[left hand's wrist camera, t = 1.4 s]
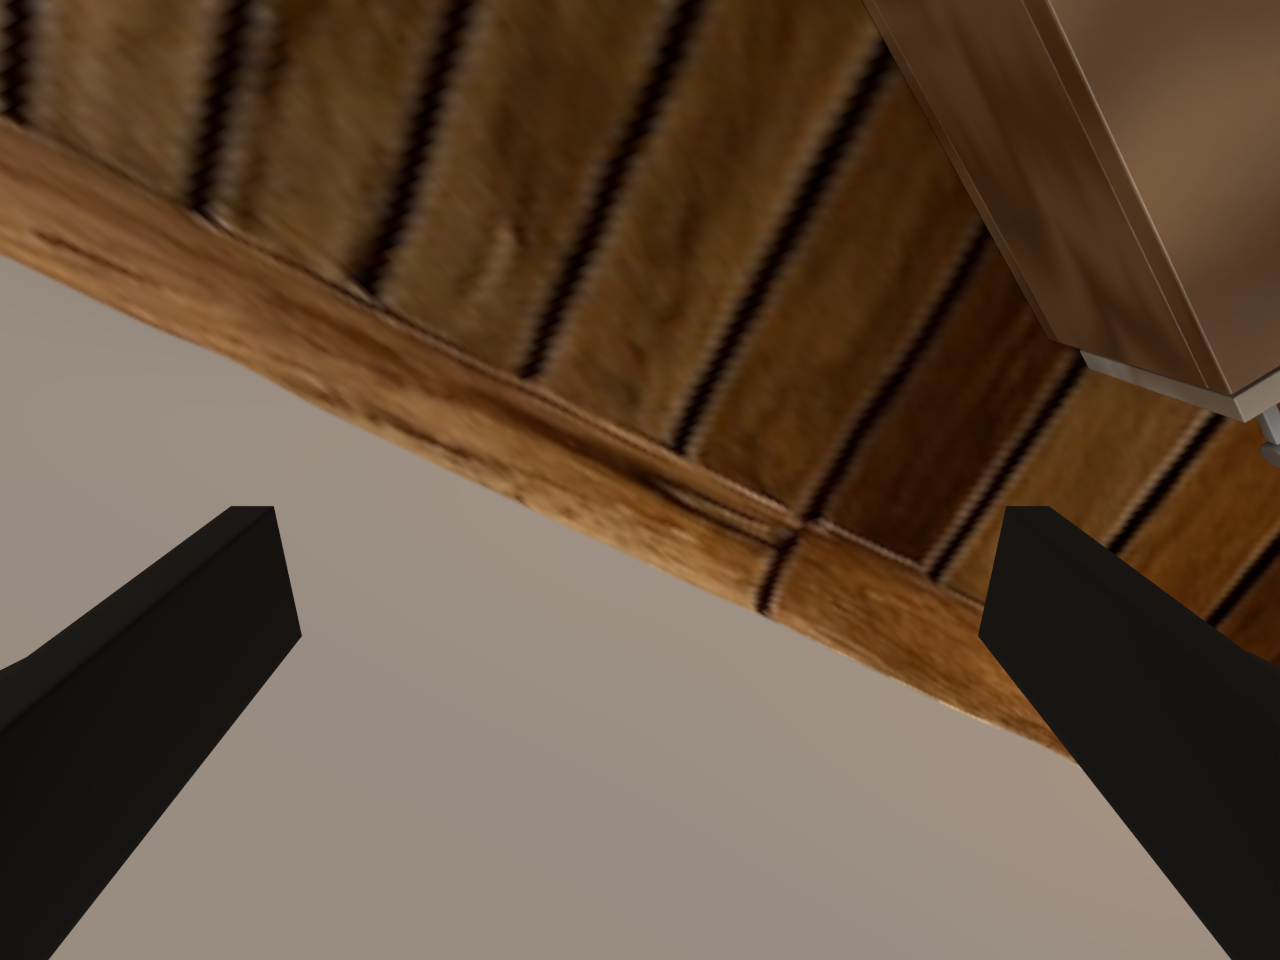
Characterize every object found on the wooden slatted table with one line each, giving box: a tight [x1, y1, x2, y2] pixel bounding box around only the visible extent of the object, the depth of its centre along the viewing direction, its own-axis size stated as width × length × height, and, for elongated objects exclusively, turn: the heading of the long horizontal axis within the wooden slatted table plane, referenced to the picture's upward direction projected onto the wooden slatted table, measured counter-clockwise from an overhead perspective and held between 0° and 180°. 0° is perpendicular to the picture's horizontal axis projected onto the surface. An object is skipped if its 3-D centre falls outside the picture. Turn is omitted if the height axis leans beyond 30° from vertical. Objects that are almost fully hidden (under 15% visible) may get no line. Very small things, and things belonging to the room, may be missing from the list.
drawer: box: [1080, 349, 1280, 468], centre depth 27 cm, size 26×10×10 cm, turn 38°
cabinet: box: [862, 0, 1280, 395], centre depth 25 cm, size 22×12×12 cm, turn 38°
